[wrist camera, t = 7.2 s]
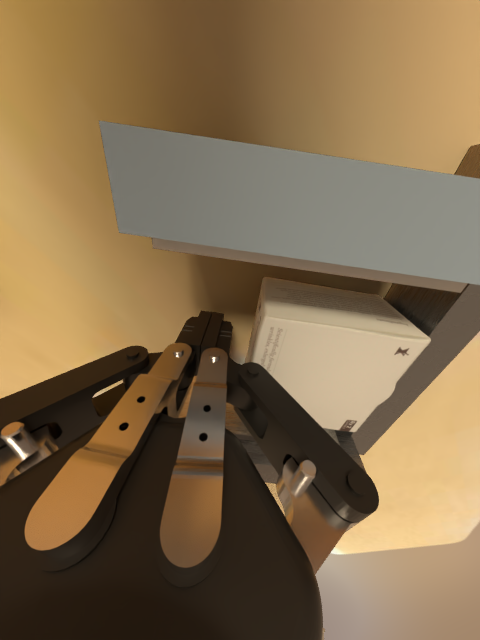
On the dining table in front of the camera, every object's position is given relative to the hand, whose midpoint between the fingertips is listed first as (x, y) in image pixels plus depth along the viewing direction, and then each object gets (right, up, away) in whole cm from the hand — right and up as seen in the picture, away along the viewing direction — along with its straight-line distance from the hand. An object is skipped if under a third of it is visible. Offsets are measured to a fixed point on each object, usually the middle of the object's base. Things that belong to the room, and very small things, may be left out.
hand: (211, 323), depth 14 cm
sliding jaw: (+5, +6, -3) cm, 8 cm away
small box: (+7, 0, +2) cm, 7 cm away
